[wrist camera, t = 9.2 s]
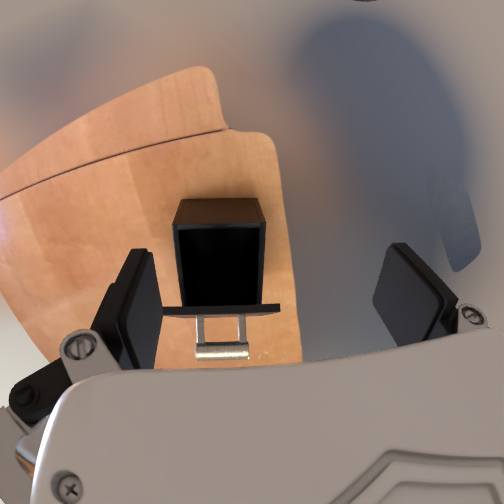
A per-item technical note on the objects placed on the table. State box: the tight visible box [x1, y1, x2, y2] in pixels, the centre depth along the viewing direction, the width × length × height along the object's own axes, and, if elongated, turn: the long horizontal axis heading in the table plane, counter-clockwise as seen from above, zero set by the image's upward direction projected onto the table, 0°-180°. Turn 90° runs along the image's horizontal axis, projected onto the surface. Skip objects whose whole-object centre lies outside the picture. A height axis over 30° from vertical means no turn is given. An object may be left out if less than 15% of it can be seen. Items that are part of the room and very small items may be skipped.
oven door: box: [163, 303, 280, 361], centre depth 32 cm, size 14×11×5 cm
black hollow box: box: [172, 198, 266, 307], centre depth 40 cm, size 13×11×9 cm
